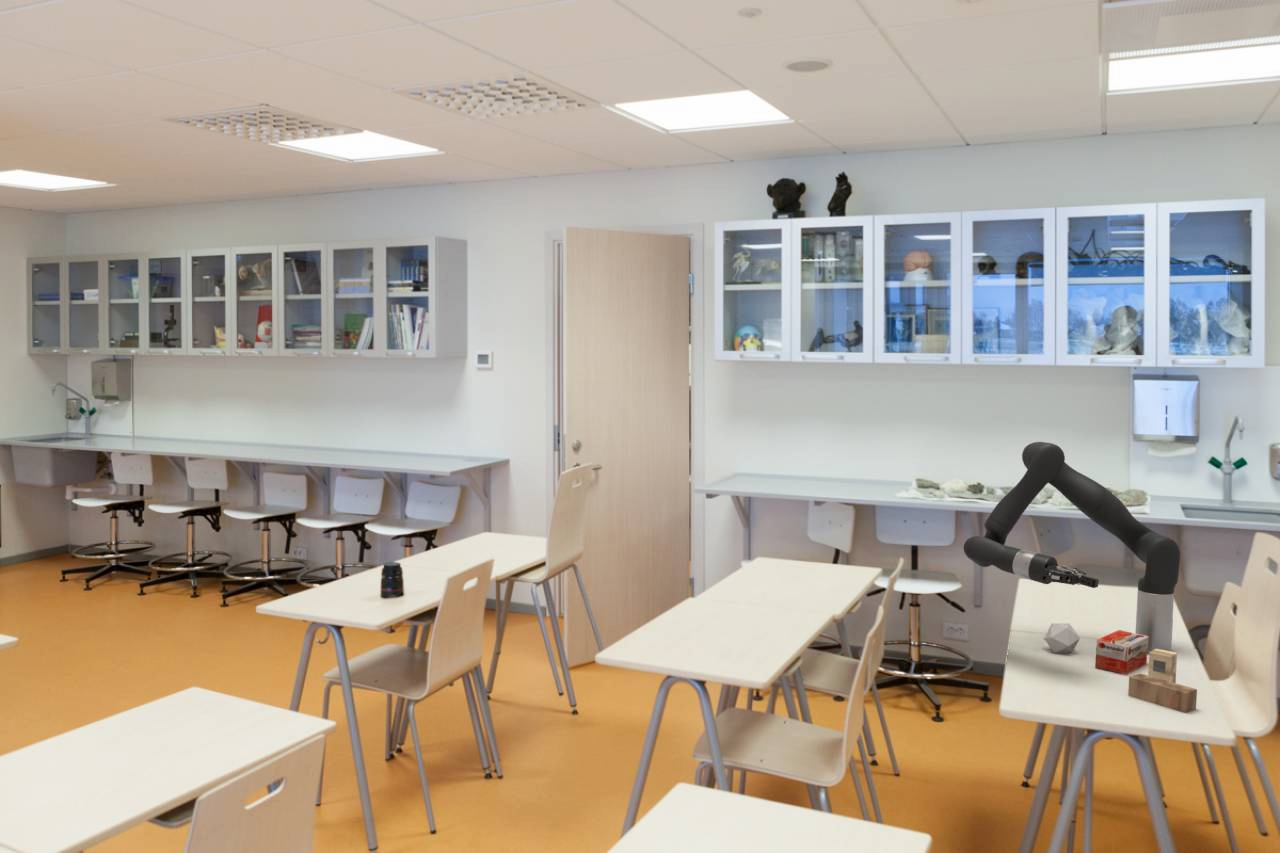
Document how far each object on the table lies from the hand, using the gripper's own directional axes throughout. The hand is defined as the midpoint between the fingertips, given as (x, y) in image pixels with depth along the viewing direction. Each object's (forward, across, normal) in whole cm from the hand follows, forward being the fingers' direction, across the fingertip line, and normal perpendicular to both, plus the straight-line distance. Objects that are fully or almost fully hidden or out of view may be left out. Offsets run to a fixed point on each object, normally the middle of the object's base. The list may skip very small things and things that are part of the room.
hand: (1096, 583), depth 263 cm
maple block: (+16, +10, +24) cm, 30 cm away
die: (-16, +19, +26) cm, 36 cm away
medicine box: (+1, +19, +25) cm, 31 cm away
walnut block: (+14, -1, +22) cm, 26 cm away
